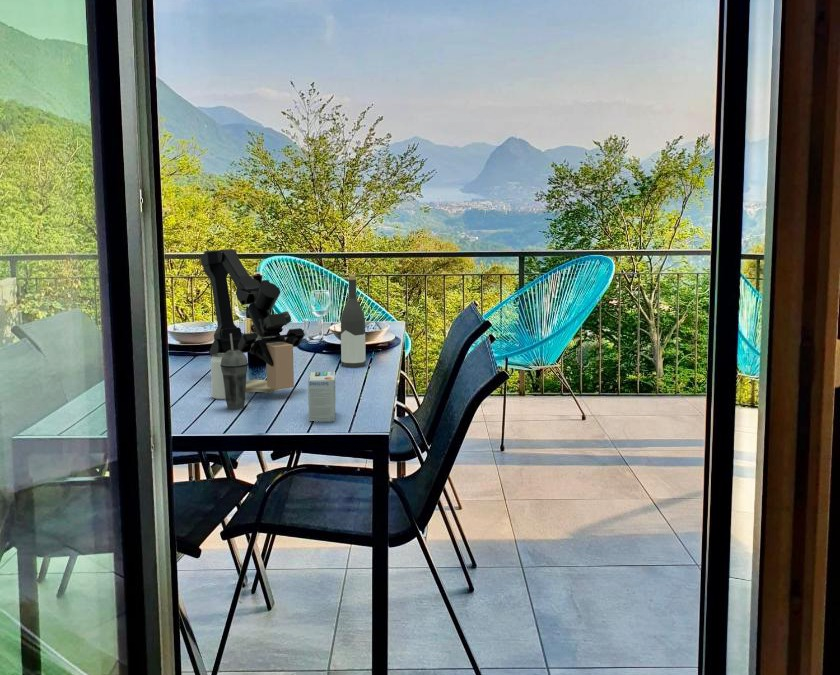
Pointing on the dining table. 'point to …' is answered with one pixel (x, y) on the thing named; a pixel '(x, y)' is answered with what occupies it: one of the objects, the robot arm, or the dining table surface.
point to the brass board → (258, 386)
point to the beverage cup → (234, 377)
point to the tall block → (280, 366)
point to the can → (217, 377)
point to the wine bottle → (353, 330)
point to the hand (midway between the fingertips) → (282, 364)
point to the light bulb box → (321, 396)
